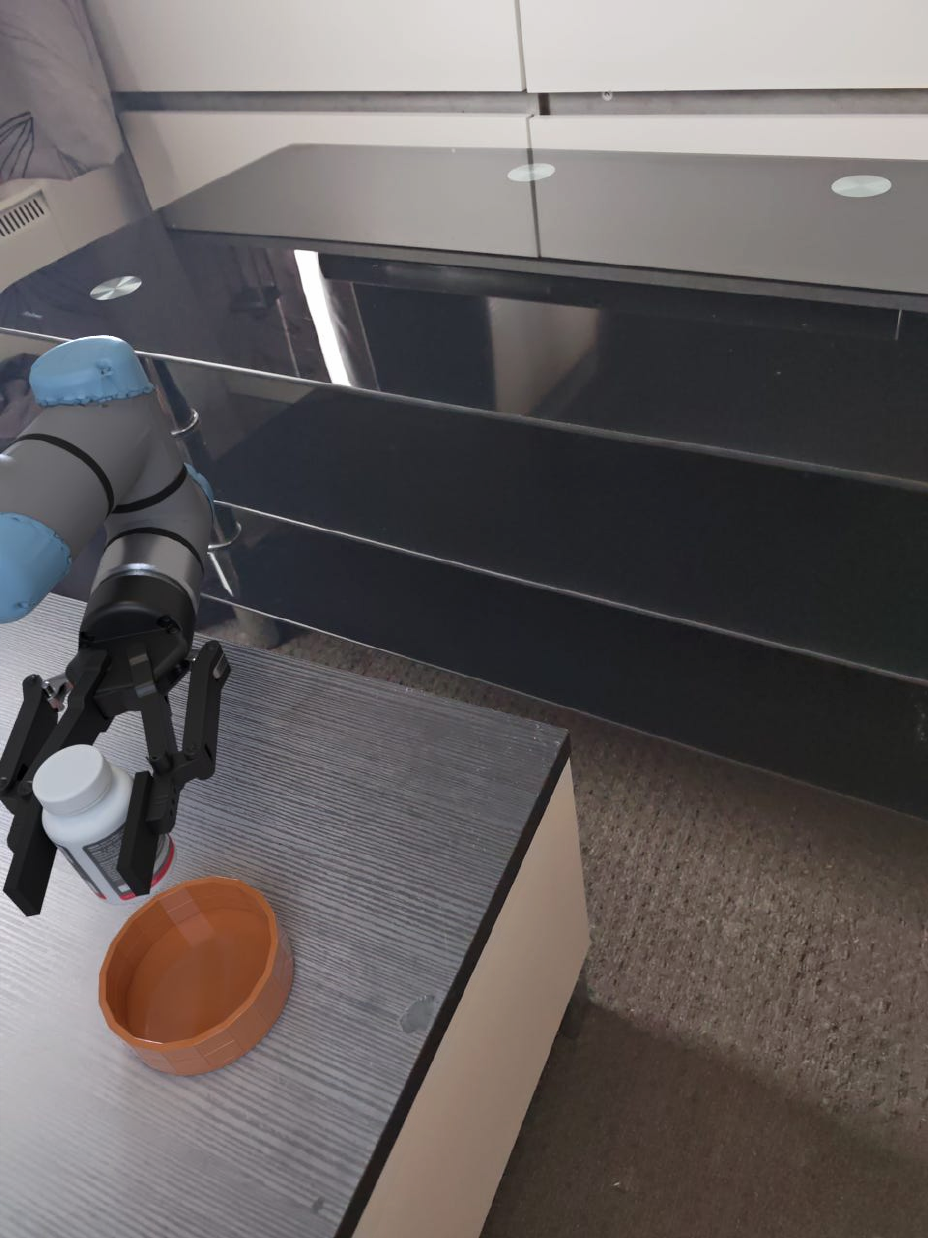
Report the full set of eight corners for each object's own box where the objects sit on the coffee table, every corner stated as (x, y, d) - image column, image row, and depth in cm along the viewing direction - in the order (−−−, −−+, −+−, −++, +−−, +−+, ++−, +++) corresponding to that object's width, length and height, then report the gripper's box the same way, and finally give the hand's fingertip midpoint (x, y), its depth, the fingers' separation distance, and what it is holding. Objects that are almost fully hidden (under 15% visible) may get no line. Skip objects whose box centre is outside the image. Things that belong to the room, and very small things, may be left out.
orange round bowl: (86, 1039, 62) (59, 1012, 59) (192, 886, 69) (173, 856, 67) (229, 1106, 57) (207, 1081, 54) (326, 934, 65) (311, 904, 62)
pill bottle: (188, 829, 59) (127, 730, 52) (167, 905, 55) (98, 808, 48) (108, 836, 59) (38, 738, 53) (82, 912, 55) (2, 817, 49)
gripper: (282, 624, 69) (266, 898, 51) (43, 670, 69) (-53, 957, 52) (251, 545, 64) (222, 820, 46) (-6, 595, 64) (-131, 886, 47)
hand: (77, 891), depth 49 cm, fingers closed on pill bottle, 5 cm apart
